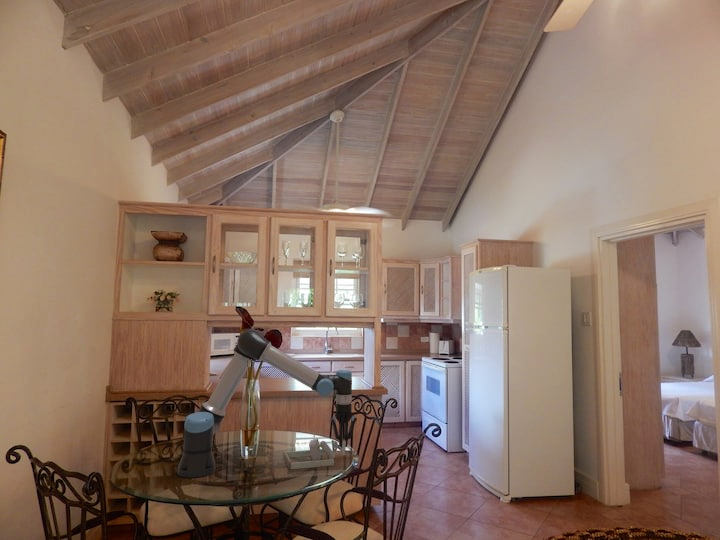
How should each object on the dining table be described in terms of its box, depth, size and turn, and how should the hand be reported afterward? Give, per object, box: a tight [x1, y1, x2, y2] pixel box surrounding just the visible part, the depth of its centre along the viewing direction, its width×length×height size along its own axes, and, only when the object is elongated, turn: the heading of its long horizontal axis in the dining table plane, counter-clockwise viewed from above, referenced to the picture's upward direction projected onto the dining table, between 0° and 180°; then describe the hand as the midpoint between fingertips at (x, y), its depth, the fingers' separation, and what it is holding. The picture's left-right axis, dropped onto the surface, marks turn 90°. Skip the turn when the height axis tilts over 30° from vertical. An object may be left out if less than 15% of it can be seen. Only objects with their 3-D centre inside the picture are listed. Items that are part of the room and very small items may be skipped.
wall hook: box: [308, 438, 336, 461], centre depth 204 cm, size 8×10×10 cm
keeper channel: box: [283, 448, 335, 470], centre depth 201 cm, size 20×18×3 cm
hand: (343, 454), depth 207 cm, fingers closed
